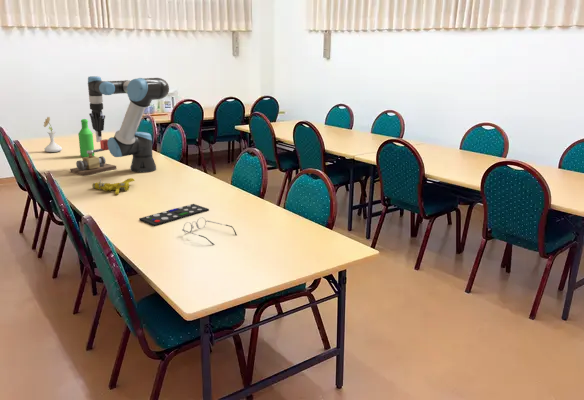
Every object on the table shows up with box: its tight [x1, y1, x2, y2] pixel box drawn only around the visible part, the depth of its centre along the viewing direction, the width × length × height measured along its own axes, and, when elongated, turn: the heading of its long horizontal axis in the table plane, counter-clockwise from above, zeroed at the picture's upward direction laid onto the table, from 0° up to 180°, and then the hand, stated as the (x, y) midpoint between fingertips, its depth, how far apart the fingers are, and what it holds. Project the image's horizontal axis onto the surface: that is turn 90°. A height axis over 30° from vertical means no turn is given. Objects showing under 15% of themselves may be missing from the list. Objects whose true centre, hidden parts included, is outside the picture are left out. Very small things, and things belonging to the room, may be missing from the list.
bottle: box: [78, 118, 95, 158], centre depth 336 cm, size 9×9×25 cm
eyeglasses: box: [181, 216, 238, 246], centre depth 206 cm, size 16×19×5 cm
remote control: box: [138, 203, 210, 227], centre depth 228 cm, size 11×30×2 cm, turn 140°
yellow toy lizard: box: [91, 177, 135, 196], centre depth 266 cm, size 22×6×20 cm
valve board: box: [69, 154, 117, 177], centre depth 302 cm, size 14×22×11 cm, turn 147°
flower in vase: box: [43, 116, 63, 153], centre depth 347 cm, size 13×11×25 cm
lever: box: [87, 138, 109, 154], centre depth 302 cm, size 15×4×6 cm, turn 149°
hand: (99, 141), depth 308 cm, fingers closed
